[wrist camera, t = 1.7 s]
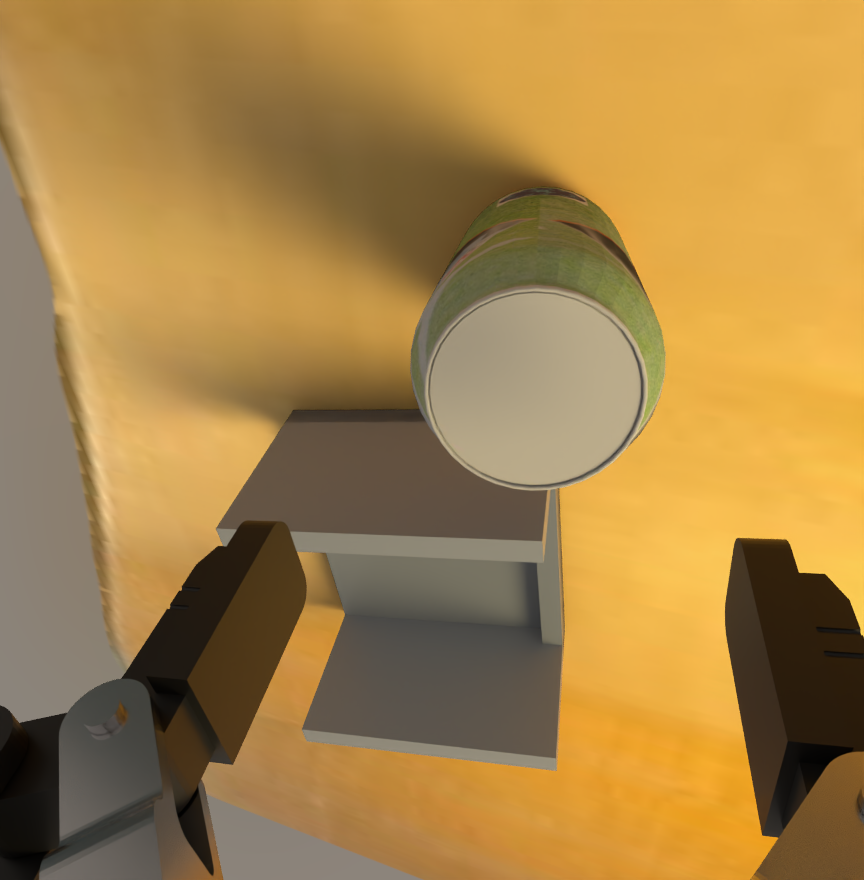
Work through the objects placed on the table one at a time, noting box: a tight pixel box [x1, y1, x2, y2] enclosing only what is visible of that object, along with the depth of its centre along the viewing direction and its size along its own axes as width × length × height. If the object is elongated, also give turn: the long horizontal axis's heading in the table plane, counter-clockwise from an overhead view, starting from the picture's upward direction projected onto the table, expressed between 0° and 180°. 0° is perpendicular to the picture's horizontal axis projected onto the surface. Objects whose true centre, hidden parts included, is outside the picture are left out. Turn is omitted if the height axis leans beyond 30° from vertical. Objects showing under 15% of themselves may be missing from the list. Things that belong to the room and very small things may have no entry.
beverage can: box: [411, 187, 665, 491], centre depth 20 cm, size 6×7×12 cm
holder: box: [216, 410, 565, 771], centre depth 31 cm, size 14×12×8 cm
